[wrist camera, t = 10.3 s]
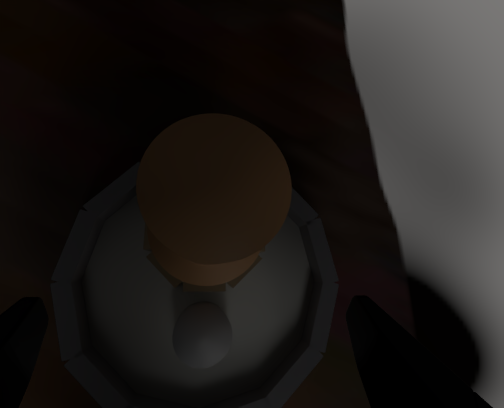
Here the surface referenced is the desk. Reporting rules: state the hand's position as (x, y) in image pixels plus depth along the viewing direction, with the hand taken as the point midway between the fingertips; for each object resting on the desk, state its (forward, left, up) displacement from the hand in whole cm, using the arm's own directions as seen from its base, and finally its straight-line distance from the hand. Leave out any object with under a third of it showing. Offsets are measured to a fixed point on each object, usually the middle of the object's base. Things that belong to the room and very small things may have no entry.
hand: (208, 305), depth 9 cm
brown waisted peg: (+2, +2, -11) cm, 11 cm away
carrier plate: (0, 0, -12) cm, 12 cm away
